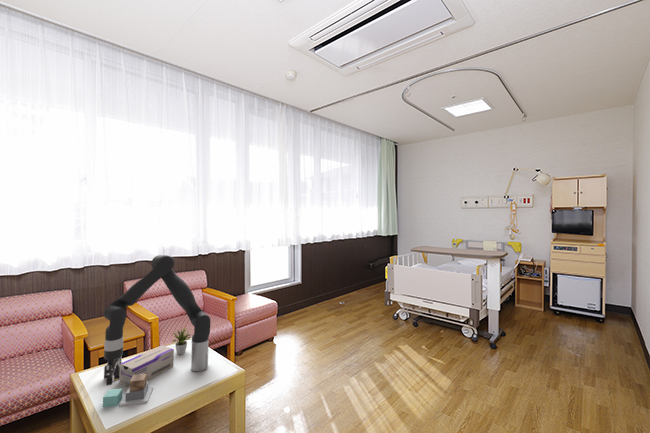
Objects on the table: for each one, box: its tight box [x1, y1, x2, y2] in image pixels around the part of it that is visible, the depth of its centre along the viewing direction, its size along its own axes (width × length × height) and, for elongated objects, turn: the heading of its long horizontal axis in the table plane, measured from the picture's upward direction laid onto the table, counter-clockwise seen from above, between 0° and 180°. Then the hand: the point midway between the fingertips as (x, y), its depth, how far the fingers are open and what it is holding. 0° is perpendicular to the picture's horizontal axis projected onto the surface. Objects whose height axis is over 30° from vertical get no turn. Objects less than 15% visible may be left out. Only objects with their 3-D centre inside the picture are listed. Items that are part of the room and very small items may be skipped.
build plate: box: [118, 381, 155, 407], centre depth 152 cm, size 12×12×5 cm
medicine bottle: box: [103, 355, 123, 382], centre depth 168 cm, size 7×7×12 cm
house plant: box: [172, 326, 193, 355], centre depth 196 cm, size 14×14×16 cm
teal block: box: [102, 388, 123, 408], centre depth 147 cm, size 6×6×5 cm
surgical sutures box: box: [118, 344, 175, 388], centre depth 172 cm, size 25×11×11 cm, turn 155°
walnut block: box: [130, 373, 148, 391], centre depth 152 cm, size 6×6×5 cm
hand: (112, 379), depth 147 cm, fingers open, 8 cm apart
